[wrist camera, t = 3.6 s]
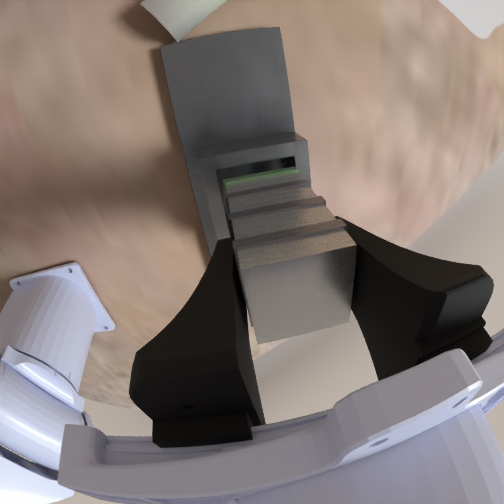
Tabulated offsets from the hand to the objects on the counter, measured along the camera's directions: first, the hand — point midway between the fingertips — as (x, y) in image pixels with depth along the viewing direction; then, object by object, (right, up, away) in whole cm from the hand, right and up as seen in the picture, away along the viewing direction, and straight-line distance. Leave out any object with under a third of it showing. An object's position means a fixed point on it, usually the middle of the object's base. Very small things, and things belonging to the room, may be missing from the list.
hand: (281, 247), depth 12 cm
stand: (-2, +6, +6) cm, 9 cm away
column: (-1, +3, +4) cm, 5 cm away
